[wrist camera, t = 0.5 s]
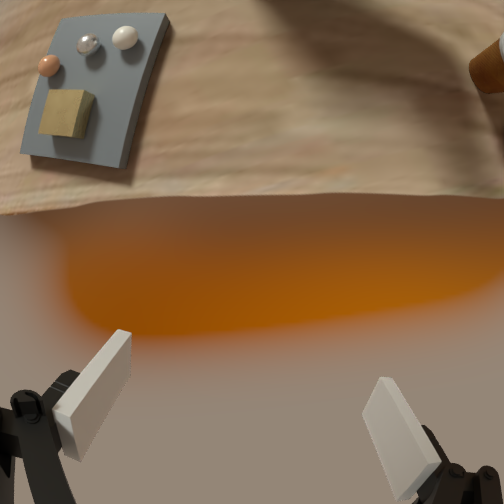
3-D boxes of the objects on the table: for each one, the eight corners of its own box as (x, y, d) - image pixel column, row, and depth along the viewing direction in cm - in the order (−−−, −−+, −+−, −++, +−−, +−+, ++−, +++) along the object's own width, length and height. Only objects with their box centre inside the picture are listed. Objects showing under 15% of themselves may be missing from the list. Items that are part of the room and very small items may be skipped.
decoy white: (123, 32, 31) (113, 21, 28) (145, 32, 31) (136, 21, 28) (114, 53, 32) (104, 44, 29) (137, 53, 32) (127, 44, 29)
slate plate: (69, 24, 32) (61, 18, 30) (169, 21, 33) (165, 13, 31) (29, 154, 37) (19, 153, 35) (126, 168, 38) (118, 168, 35)
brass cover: (61, 94, 33) (49, 89, 30) (95, 95, 33) (84, 89, 30) (50, 135, 34) (37, 133, 31) (83, 139, 34) (71, 136, 31)
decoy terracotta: (50, 59, 32) (38, 52, 28) (67, 57, 32) (55, 50, 28) (43, 79, 32) (30, 74, 29) (60, 79, 32) (47, 73, 29)
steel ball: (88, 39, 31) (77, 30, 28) (107, 38, 31) (97, 29, 28) (80, 59, 32) (68, 52, 29) (99, 59, 32) (88, 51, 29)
